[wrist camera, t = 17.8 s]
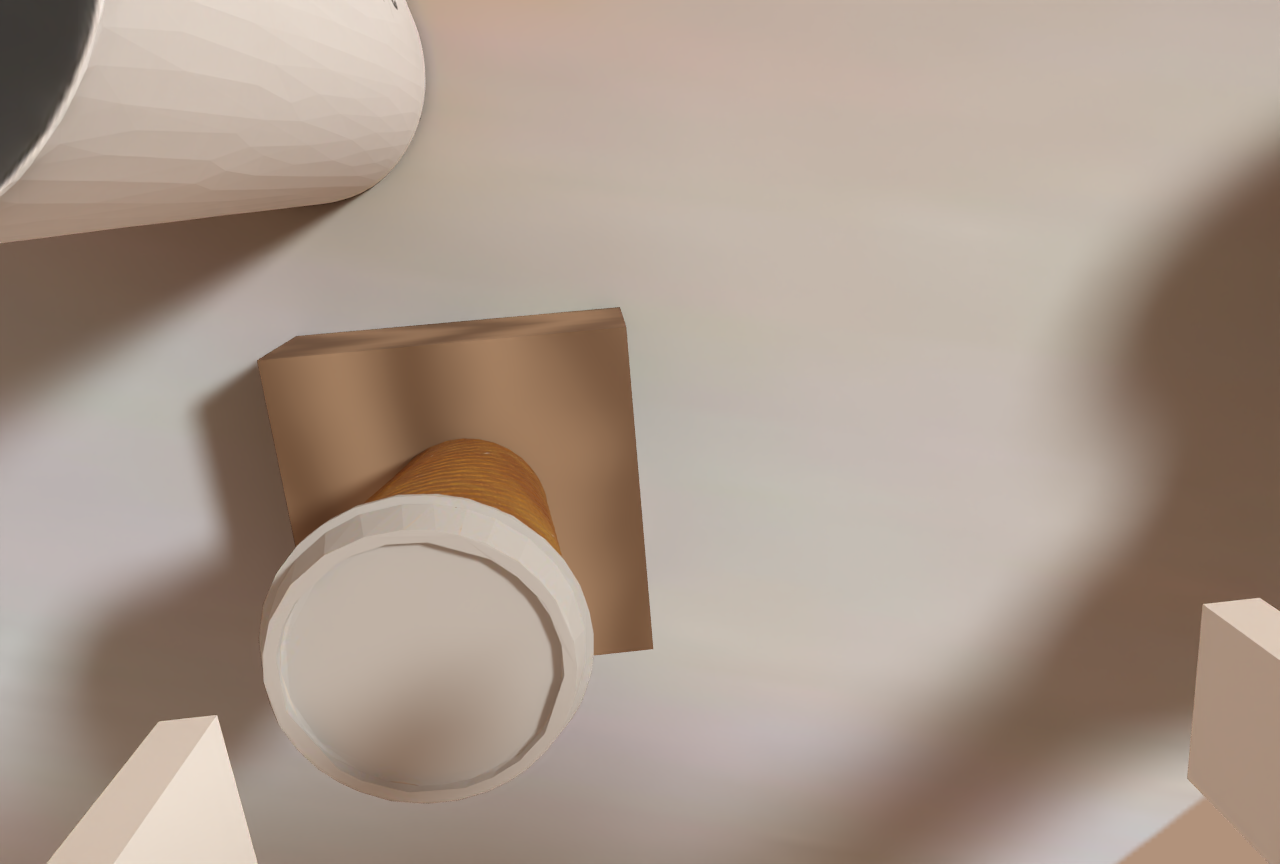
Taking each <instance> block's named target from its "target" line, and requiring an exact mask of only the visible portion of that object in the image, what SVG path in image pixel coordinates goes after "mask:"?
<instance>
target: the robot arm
mask: <svg viewBox="0 0 1280 864" xmlns="http://www.w3.org/2000/svg"><path fill="white" fill-rule="evenodd" d="M1187 779H1188V780H1189V781H1190V782H1191V783H1192V784H1193V785H1194V786H1195V787H1196V788H1197V789H1198V790H1199V791H1200V792H1201V793H1202V794H1203V795H1204V796H1205V797H1206V799H1207V800H1208V801H1209V802H1210V803H1211V804H1212V805H1213V806H1214V807H1215V808H1216V809H1217V810H1218V811H1219V812H1220V813H1221V814H1222V815H1223V816H1224V817H1225V818H1226V819H1227V820H1228V821H1229V823H1230V824H1231V825H1232V826H1233V827H1234V828H1235V829H1236V830H1237V831H1238V832H1239V833H1240V834H1241V835H1242V836H1243V837H1244V838H1245V839H1246V840H1247V841H1248V842H1249V843H1250V845H1251V846H1252V847H1253V848H1254V849H1255V850H1256V851H1257V852H1258V853H1259V854H1260V855H1261V856H1262V857H1263V858H1264V859H1265V860H1266V861H1267V862H1268V863H1269V864H1280V611H1279V610H1277V609H1276V608H1274V607H1273V606H1271V605H1270V604H1268V603H1267V602H1265V601H1264V600H1262V599H1261V598H1253V599H1244V600H1235V601H1226V602H1217V603H1208V604H1203V606H1202V618H1201V629H1200V640H1199V651H1198V663H1197V674H1196V685H1195V696H1194V708H1193V719H1192V730H1191V741H1190V753H1189V764H1188V775H1187ZM46 864H258V863H257V859H256V855H255V852H254V848H253V844H252V841H251V837H250V834H249V830H248V826H247V823H246V819H245V815H244V812H243V808H242V804H241V801H240V797H239V793H238V790H237V786H236V782H235V779H234V775H233V771H232V768H231V764H230V760H229V757H228V753H227V749H226V746H225V742H224V738H223V735H222V731H221V727H220V724H219V720H218V716H217V715H212V716H203V717H194V718H185V719H176V720H167V721H159V722H158V723H157V724H156V725H155V727H154V728H153V729H152V731H151V732H150V733H149V734H148V736H147V737H146V738H145V739H144V741H143V742H142V743H141V744H140V746H139V747H138V748H137V750H136V751H135V752H134V753H133V755H132V756H131V757H130V758H129V760H128V761H127V762H126V763H125V765H124V766H123V767H122V768H121V770H120V771H119V772H118V774H117V775H116V776H115V777H114V779H113V780H112V781H111V782H110V784H109V785H108V786H107V787H106V789H105V790H104V791H103V792H102V794H101V795H100V796H99V798H98V799H97V800H96V801H95V803H94V804H93V805H92V806H91V808H90V809H89V810H88V811H87V813H86V814H85V815H84V816H83V818H82V819H81V820H80V822H79V823H78V824H77V825H76V827H75V828H74V829H73V830H72V832H71V833H70V834H69V835H68V837H67V838H66V839H65V841H64V842H63V843H62V844H61V846H60V847H59V848H58V849H57V851H56V852H55V853H54V854H53V856H52V857H51V858H50V859H49V861H48V862H47V863H46Z"/></svg>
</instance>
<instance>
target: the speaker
mask: <svg viewBox="0 0 1280 864" xmlns="http://www.w3.org/2000/svg"><path fill="white" fill-rule="evenodd" d="M425 84H426V82H425V63H424V56H423V50H422V45H421V41H420V37H419V33H418V30H417V28H416V25H415V22H414V20H413V18H412V15H411V13H410V10H409V8H408V5H407V3H406V0H0V243H8V242H15V241H23V240H31V239H39V238H47V237H54V236H62V235H70V234H78V233H86V232H93V231H101V230H109V229H116V228H125V227H133V226H142V225H151V224H159V223H168V222H176V221H184V220H192V219H200V218H207V217H215V216H223V215H231V214H240V213H250V212H259V211H267V210H276V209H284V208H292V207H300V206H308V205H317V204H325V203H332V202H336V201H340V200H343V199H347V198H350V197H352V196H355V195H358V194H360V193H362V192H364V191H366V190H368V189H370V188H372V187H373V186H374V185H375V184H377V183H378V182H379V181H380V180H382V179H383V178H384V177H385V176H387V175H388V173H389V172H390V171H391V170H392V169H393V168H394V167H395V166H396V165H397V163H398V162H399V160H400V159H401V158H402V156H403V155H404V153H405V151H406V150H407V148H408V146H409V145H410V143H411V141H412V139H413V136H414V134H415V132H416V129H417V126H418V123H419V121H420V119H421V118H420V117H421V113H422V108H423V103H424V95H425Z"/></svg>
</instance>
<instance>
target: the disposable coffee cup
mask: <svg viewBox="0 0 1280 864" xmlns="http://www.w3.org/2000/svg"><path fill="white" fill-rule="evenodd" d="M259 644H260V654H261V663H262V668H263V678H264V685H265V688H266V692H267V695H268V699H269V702H270V705H271V707H272V710H273V712H274V715H275V717H276V719H277V722H278V724H279V726H280V727H281V729H282V730H283V731H284V733H285V734H286V735H287V737H288V738H289V739H290V741H291V742H292V744H293V745H294V746H295V748H296V749H297V750H298V751H299V752H300V753H301V754H302V755H303V756H304V757H306V758H307V759H308V760H309V761H310V762H311V763H312V764H313V765H314V766H315V767H316V768H318V769H319V770H320V771H322V772H324V773H325V774H327V775H328V776H330V777H331V778H333V779H335V780H336V781H338V782H339V783H342V784H344V785H346V786H348V787H350V788H353V789H355V790H357V791H359V792H362V793H366V794H369V795H373V796H376V797H380V798H383V799H386V800H390V801H399V802H413V803H428V804H429V803H438V802H447V801H457V800H461V799H464V798H468V797H471V796H475V795H478V794H481V793H485V792H488V791H490V790H492V789H494V788H496V787H498V786H500V785H502V784H504V783H506V782H508V781H510V780H512V779H514V778H515V777H517V776H518V775H520V774H521V773H522V772H524V771H525V770H527V769H528V768H529V767H530V766H531V765H532V764H533V763H534V762H535V761H536V760H537V759H538V758H540V757H541V756H542V755H543V754H544V753H545V752H546V751H547V750H548V748H549V747H550V745H551V744H552V742H553V741H554V740H555V739H556V738H557V737H558V735H559V734H560V733H561V732H562V730H563V729H564V728H565V726H566V725H567V724H568V723H569V721H570V720H571V719H572V718H573V716H574V714H575V712H576V710H577V709H578V707H579V705H580V703H581V701H582V699H583V697H584V694H585V691H586V688H587V685H588V682H589V679H590V676H591V670H592V663H593V656H594V633H593V628H592V623H591V617H590V612H589V609H588V606H587V603H586V600H585V597H584V595H583V592H582V589H581V586H580V584H579V583H578V581H577V579H576V578H575V576H574V575H573V573H572V571H571V570H570V568H569V567H568V565H567V563H566V562H565V560H564V559H563V558H562V553H561V551H560V546H559V542H558V540H557V535H556V533H555V527H554V525H553V521H552V517H551V514H550V510H549V506H548V503H547V498H546V494H545V491H544V489H543V486H542V484H541V482H540V480H539V478H538V477H537V475H536V474H535V472H534V471H533V470H532V468H531V467H530V466H529V465H528V464H527V463H526V462H525V461H524V460H523V459H522V458H521V457H520V456H518V455H517V454H515V453H514V452H512V451H511V450H510V449H508V448H505V447H503V446H501V445H499V444H496V443H494V442H489V441H485V440H481V439H466V438H462V439H455V440H448V441H445V442H442V443H440V444H437V445H434V446H432V447H430V448H428V449H426V450H425V451H423V452H422V453H420V454H419V455H417V456H416V457H415V458H414V459H412V460H411V461H410V462H409V463H408V464H407V465H406V466H405V467H404V468H403V469H402V470H401V471H400V472H398V473H397V474H396V475H395V476H394V477H393V478H392V479H391V480H389V481H388V482H387V483H386V484H385V485H384V486H383V487H381V488H380V489H379V490H378V491H377V492H376V493H375V494H374V495H373V496H371V497H370V498H369V499H368V500H367V501H365V502H364V503H363V504H361V505H358V506H355V507H353V508H351V509H349V510H347V511H345V512H343V513H341V514H339V515H337V516H335V517H333V518H331V519H330V520H328V521H327V522H326V523H324V524H323V525H321V526H320V527H319V528H317V529H316V530H315V531H313V532H312V533H310V534H309V535H308V536H307V537H306V538H305V539H304V540H303V541H301V542H300V543H299V544H298V545H297V546H296V548H295V549H294V550H293V552H292V553H291V554H290V556H289V557H288V558H287V560H286V561H285V562H284V564H283V565H282V566H281V568H280V569H279V570H278V572H277V573H276V575H275V578H274V580H273V582H272V585H271V587H270V590H269V592H268V594H267V597H266V599H265V601H264V604H263V610H262V618H261V625H260V632H259Z"/></svg>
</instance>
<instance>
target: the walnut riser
mask: <svg viewBox="0 0 1280 864" xmlns="http://www.w3.org/2000/svg"><path fill="white" fill-rule="evenodd" d="M257 363H258V368H259V372H260V377H261V382H262V387H263V392H264V397H265V401H266V406H267V411H268V416H269V421H270V426H271V430H272V435H273V440H274V445H275V450H276V455H277V459H278V464H279V469H280V474H281V479H282V484H283V489H284V493H285V498H286V503H287V508H288V513H289V518H290V522H291V527H292V532H293V537H294V542H295V547H296V546H297V545H298V544H299V543H300V542H301V541H303V540H304V539H305V538H306V537H307V536H308V535H309V534H310V533H312V532H313V531H315V530H316V529H317V528H319V527H320V526H321V525H323V524H324V523H326V522H327V521H328V520H330V519H331V518H333V517H335V516H337V515H339V514H341V513H343V512H345V511H347V510H349V509H351V508H353V507H355V506H358V505H361V504H363V503H364V502H365V501H367V500H368V499H369V498H370V497H371V496H373V495H374V494H375V493H376V492H377V491H378V490H379V489H380V488H381V487H383V486H384V485H385V484H386V483H387V482H388V481H389V480H391V479H392V478H393V477H394V476H395V475H396V474H397V473H398V472H400V471H401V470H402V469H403V468H404V467H405V466H406V465H407V464H408V463H409V462H410V461H411V460H412V459H414V458H415V457H416V456H417V455H419V454H420V453H422V452H423V451H425V450H426V449H428V448H430V447H432V446H434V445H437V444H440V443H442V442H445V441H448V440H455V439H462V438H466V439H481V440H485V441H489V442H494V443H496V444H499V445H501V446H503V447H505V448H508V449H510V450H511V451H512V452H514V453H515V454H517V455H518V456H520V457H521V458H522V459H523V460H524V461H525V462H526V463H527V464H528V465H529V466H530V467H531V468H532V470H533V471H534V472H535V474H536V475H537V477H538V478H539V480H540V482H541V484H542V486H543V489H544V491H545V494H546V498H547V503H548V506H549V510H550V514H551V517H552V521H553V525H554V527H555V533H556V535H557V540H558V542H559V546H560V551H561V553H562V558H563V559H564V560H565V562H566V563H567V565H568V567H569V568H570V570H571V571H572V573H573V575H574V576H575V578H576V579H577V581H578V583H579V584H580V586H581V589H582V592H583V595H584V597H585V600H586V603H587V606H588V609H589V612H590V617H591V623H592V628H593V633H594V655H602V654H611V653H620V652H630V651H639V650H648V649H653V641H652V629H651V617H650V605H649V593H648V581H647V569H646V557H645V545H644V533H643V522H642V510H641V498H640V486H639V474H638V462H637V450H636V438H635V426H634V414H633V403H632V391H631V379H630V367H629V355H628V343H627V331H626V325H625V322H624V319H623V316H622V313H621V309H620V307H617V308H606V309H595V310H584V311H572V312H561V313H550V314H539V315H528V316H517V317H505V318H494V319H483V320H472V321H461V322H450V323H439V324H427V325H416V326H405V327H394V328H383V329H372V330H361V331H349V332H338V333H327V334H316V335H305V336H296V337H294V338H293V339H291V340H289V341H288V342H286V343H284V344H283V345H281V346H280V347H278V348H276V349H275V350H273V351H272V352H270V353H268V354H267V355H265V356H264V357H262V358H260V359H259V360H257Z"/></svg>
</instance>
